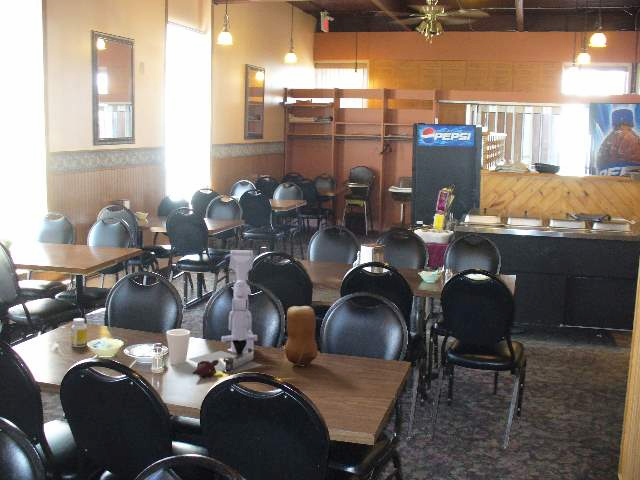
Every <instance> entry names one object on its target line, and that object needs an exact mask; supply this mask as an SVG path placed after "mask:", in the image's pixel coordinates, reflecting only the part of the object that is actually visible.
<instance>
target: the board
mask: <svg viewBox="0 0 640 480" xmlns="http://www.w3.org/2000/svg"><path fill="white" fill-rule="evenodd" d="M236 356H237V355H235V354H232V353H228V352H225V351H223V350H218V351H215V352H210V353H206V354H203V355H198V356H195V357H190V358H188V360H189V361H191V362H194V363H196V364H198V363H200V362H201V361H209V362H211V363H212V361H213V360H218V361H219V362H218V364H217V365H216V366H214V367H215V369H216V371H219V372H221V373H223V372H222V370H223V369H225V366H224V365H223V364H222V363H221V361H220V360H219V359H220V358H226V357H236ZM261 366H263V364H260V363H258V362H254V361H252V360H250V361H248V362H246V363H244V364H242V365H240V366H238V367H236V368H234V373H225V374H227V375H233V374H237V373H240V372H243V371H247V370H251V369H253V368H258V367H261Z"/></svg>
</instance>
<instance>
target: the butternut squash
mask: <svg viewBox="0 0 640 480" xmlns="http://www.w3.org/2000/svg"><path fill="white" fill-rule="evenodd" d="M316 323H317V321H316V315H315V310H314V309H313V308H312V307H311V306H309V305H302V306H297V305H294V306H290V307H289V308H288V309H287V313H286V331H287V335H288V336H287V339H286V342H285V346H284V354H285V357H286V359H287V360H288V362H291V363H292V364H293V365H296V366H298V367H299V366H300V365H306V366H308V365H309V364H311V363H312V362H313V361H314V360H315V359H316V358H317V357H318V353H319V350H318V344H317V341H316V337H315V336H316V326H317V324H316ZM307 364H308V365H307ZM300 367H301V366H300Z"/></svg>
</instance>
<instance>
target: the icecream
mask: <svg viewBox="0 0 640 480" xmlns="http://www.w3.org/2000/svg"><path fill="white" fill-rule="evenodd" d="M218 362H219V361H218V360H213V361H212V363H211V362H209V361H201V362H200V363H196V364H197V365H196V366H197V367H196V368H195V370H194V371H193V372H192V374H193V375H196V376H199V377H202V378H203V377H204V378H207V379H209V378H210V377H212V376H213V374H214V373H215V372H217V370H216V369H215V367H214V366H216V365H217V364H218Z"/></svg>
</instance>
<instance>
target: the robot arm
mask: <svg viewBox="0 0 640 480" xmlns="http://www.w3.org/2000/svg"><path fill="white" fill-rule="evenodd" d="M229 254H230V255H229V263H230V269H231V270H233V271H234V272H235V275H236V282H235V283H234V284H233V297H232V300H231V301H232V302H231V310H230V312H229V315H228V330H229V331H230V332H231V335H222V336H221V342H222V343H225V342H230V344H231V345H230V348H227V349H226V350H227V351H229V352H232V353H236V356H238V355H240V354H242V353H244V352H246V351H248V348H252V351H255V349H254V341H258V335H257V334H254V333H253V331H252V319H253V318H252V313H251V311H249V295H248V292H249V291H248V288H249V287H248V283H247V275H248V271H251V270H252V269H253V266H254V265H253V264H254V251H253V249H251V250H249V249H248V250H243V249H242V250H241V249H239V250H238V249H237V250H236V249H231V250H230V253H229Z"/></svg>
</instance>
